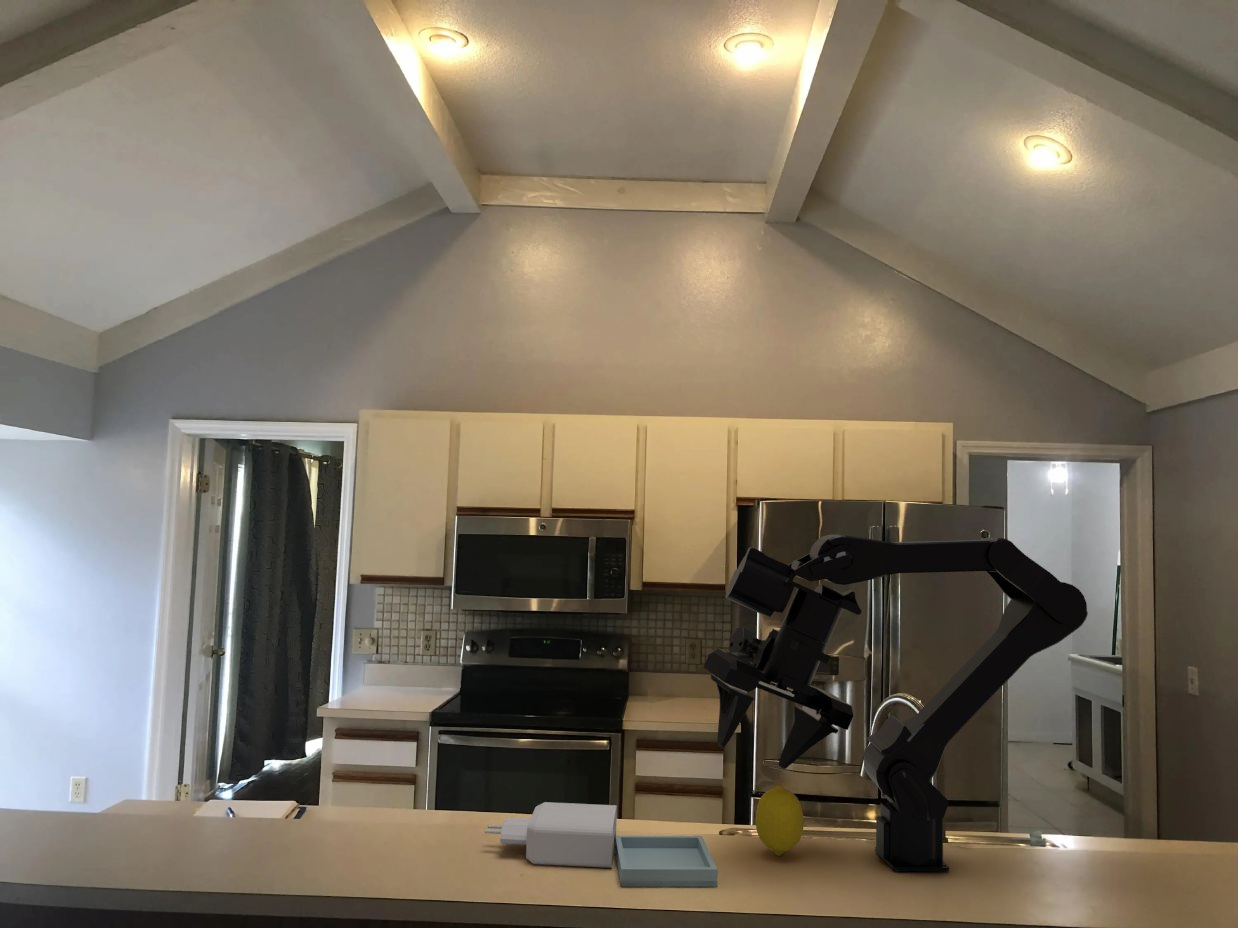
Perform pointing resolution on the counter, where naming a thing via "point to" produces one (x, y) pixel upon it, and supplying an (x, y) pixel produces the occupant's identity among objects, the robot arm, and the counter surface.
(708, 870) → the tray
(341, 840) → the counter surface
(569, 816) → the charger
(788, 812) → the lemon
